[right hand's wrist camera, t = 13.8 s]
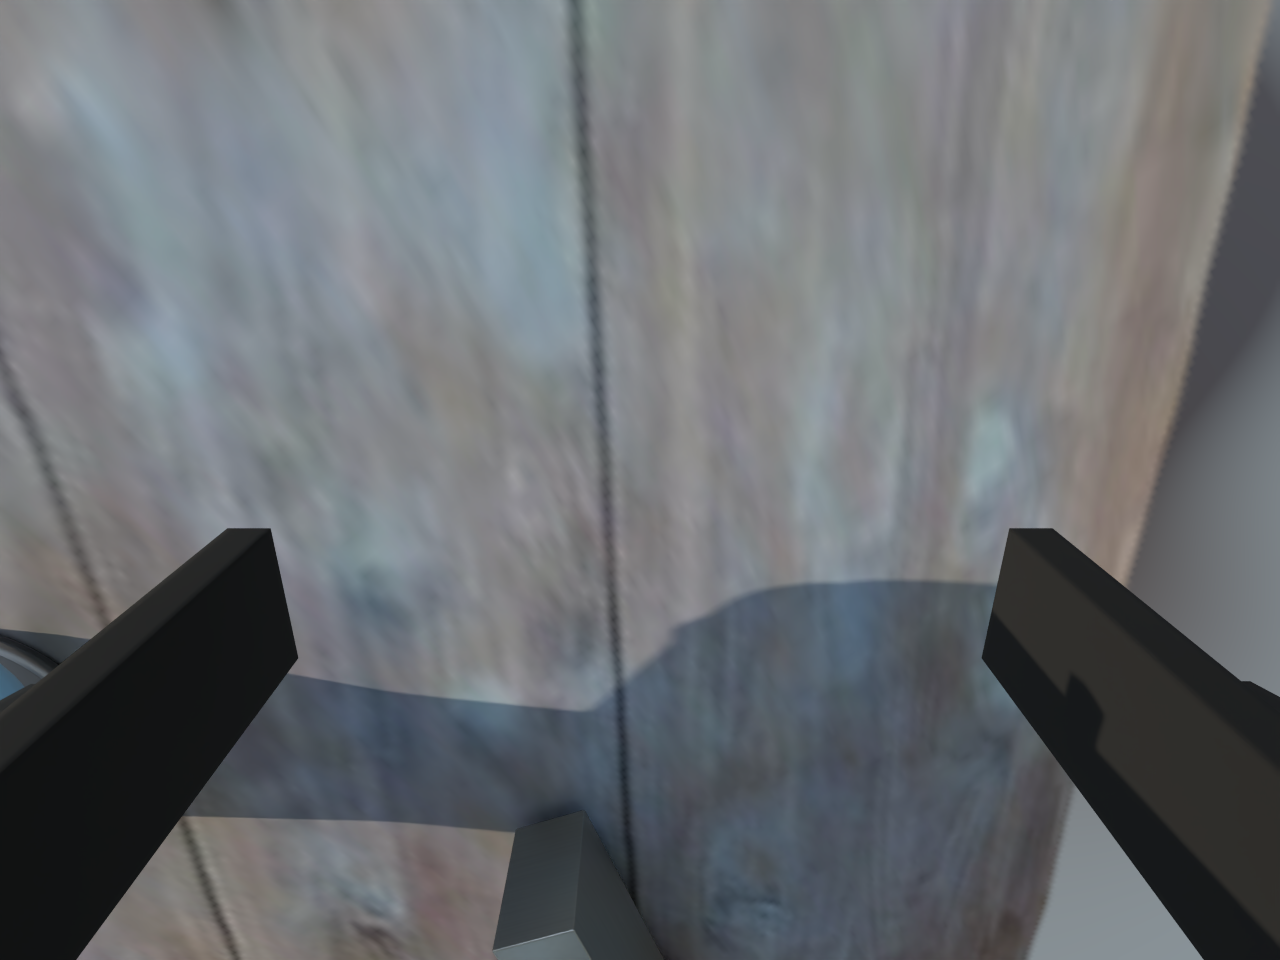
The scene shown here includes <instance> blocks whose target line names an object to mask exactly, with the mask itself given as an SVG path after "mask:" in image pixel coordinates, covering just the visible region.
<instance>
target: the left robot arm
mask: <svg viewBox="0 0 1280 960" xmlns="http://www.w3.org/2000/svg"><path fill="white" fill-rule="evenodd" d="M57 666H58V664H56V663H55V662H54V661H52V660H51V659H49V658H48V657H46V656H45V655H43V654H41V653H39V652H38V651H36V650H34V649H32V648H30V647H28V646H26V645H24V644H22V643H19V642H17V641H15V640H12V639H10V638H7V637H4V636H1V635H0V700H2V699H3V698H5V697H7V696H9V695H11V694H13V693H15V692H16V691H18V690H20V689H22V688H24V687H26V686H28V685H30V684H36V683H37V682H39V681H40V680H41V679H42V678H44V677H45V676H46V675H47V674H49V673H50V672H51V671H52V670H53V669H55V668H56V667H57Z"/></svg>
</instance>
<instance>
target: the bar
mask: <svg viewBox="0 0 1280 960" xmlns="http://www.w3.org/2000/svg"><path fill="white" fill-rule="evenodd" d="M493 953H494V955H495V956H496V958H497V959H498V960H664V959H663V957H662V955H661V953H660V951H659V949H658V947H657V946H656V944H655V942H654V940H653V938H652V936H651V934H650V932H649V930H648V929H647V927H646V925H645V923H644V921H643V919H642V917H641V915H640V913H639V912H638V910H637V908H636V906H635V904H634V902H633V900H632V898H631V897H630V895H629V893H628V891H627V889H626V887H625V885H624V883H623V881H622V880H621V878H620V876H619V874H618V872H617V870H616V868H615V866H614V864H613V863H612V861H611V859H610V857H609V855H608V853H607V851H606V849H605V847H604V846H603V844H602V842H601V840H600V838H599V836H598V834H597V832H596V830H595V829H594V827H593V825H592V823H591V821H590V819H589V817H588V815H587V813H586V812H585V810H582V811H579V812H575V813H572V814H568V815H564V816H561V817H557V818H554V819H550V820H547V821H543V822H540V823H536V824H533V825H529V826H526V827H522V828H518V829H516V832H515V837H514V842H513V848H512V853H511V858H510V863H509V868H508V873H507V879H506V884H505V889H504V894H503V899H502V904H501V910H500V915H499V920H498V925H497V930H496V935H495V941H494V946H493Z"/></svg>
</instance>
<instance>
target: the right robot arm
mask: <svg viewBox="0 0 1280 960" xmlns="http://www.w3.org/2000/svg"><path fill="white" fill-rule="evenodd" d="M297 659H298V654H297V650H296V645H295V640H294V636H293V631H292V626H291V622H290V617H289V612H288V608H287V603H286V598H285V594H284V589H283V584H282V580H281V575H280V570H279V566H278V561H277V556H276V552H275V547H274V542H273V538H272V533H271V528H227V529H226V530H225V531H224V532H222V533H221V534H220V535H219V536H218V537H216V538H215V539H214V540H213V541H211V542H210V543H209V544H208V545H206V546H205V547H204V548H203V549H201V550H200V551H199V552H198V553H197V554H195V555H194V556H193V557H192V558H190V559H189V560H188V561H187V562H185V563H184V564H183V565H182V566H181V567H179V568H178V569H177V570H176V571H174V572H173V573H172V574H171V575H169V576H168V577H167V578H166V579H164V580H163V581H162V582H161V583H160V584H158V585H157V586H156V587H155V588H153V589H152V590H151V591H150V592H148V593H147V594H146V595H145V596H144V597H142V598H141V599H140V600H139V601H137V602H136V603H135V604H134V605H132V606H131V607H130V608H129V609H127V610H126V611H125V612H124V613H123V614H121V615H120V616H119V617H118V618H116V619H115V620H114V621H113V622H111V623H110V624H109V625H108V626H107V627H105V628H104V629H103V630H102V631H100V632H99V633H98V634H97V635H95V636H94V637H93V638H92V639H90V640H89V641H88V642H87V643H86V644H84V645H83V646H82V647H81V648H79V649H78V650H77V651H76V652H74V653H73V654H72V655H71V656H70V657H68V658H67V659H66V660H65V661H63V662H62V663H61V664H60V665H58V666H57V667H56V668H55V669H53V670H52V671H51V672H50V673H49V674H47V675H46V676H45V677H44V678H42V679H41V680H40V681H39V682H37V683H36V684H30V685H28V686H26V687H24V688H22V689H20V690H18V691H16V692H15V693H13V694H11V695H9V696H7V697H5V698H3V699H2V700H0V960H76V959H77V958H78V957H79V955H80V954H81V952H82V951H83V950H84V948H85V947H86V946H87V944H88V943H89V942H90V940H91V939H92V938H93V936H94V935H95V933H96V932H97V931H98V929H99V928H100V927H101V925H102V924H103V923H104V921H105V920H106V919H107V917H108V916H109V914H110V913H111V912H112V910H113V909H114V908H115V906H116V905H117V904H118V902H119V901H120V900H121V898H122V897H123V895H124V894H125V893H126V891H127V890H128V889H129V887H130V886H131V885H132V883H133V882H134V880H135V879H136V878H137V876H138V875H139V874H140V872H141V871H142V870H143V868H144V867H145V866H146V864H147V863H148V861H149V860H150V859H151V857H152V856H153V855H154V853H155V852H156V851H157V849H158V848H159V847H160V845H161V844H162V842H163V841H164V840H165V838H166V837H167V836H168V834H169V833H170V832H171V830H172V829H173V828H174V826H175V825H176V823H177V822H178V821H179V819H180V818H181V817H182V815H183V814H184V813H185V811H186V810H187V809H188V807H189V806H190V804H191V803H192V802H193V800H194V799H195V798H196V796H197V795H198V794H199V792H200V791H201V789H202V788H203V787H204V785H205V784H206V783H207V781H208V780H209V779H210V777H211V776H212V775H213V773H214V772H215V770H216V769H217V768H218V766H219V765H220V764H221V762H222V761H223V760H224V758H225V757H226V756H227V754H228V753H229V751H230V750H231V749H232V747H233V746H234V745H235V743H236V742H237V741H238V739H239V738H240V737H241V735H242V734H243V732H244V731H245V730H246V728H247V727H248V726H249V724H250V723H251V722H252V720H253V719H254V718H255V716H256V715H257V713H258V712H259V711H260V709H261V708H262V707H263V705H264V704H265V703H266V701H267V700H268V698H269V697H270V696H271V694H272V693H273V692H274V690H275V689H276V688H277V686H278V685H279V684H280V682H281V681H282V679H283V678H284V677H285V675H286V674H287V673H288V671H289V670H290V669H291V667H292V666H293V665H294V663H295V662H296V660H297ZM982 659H983V660H984V662H985V663H986V665H987V666H988V667H989V669H990V670H991V671H992V673H993V674H994V675H995V677H996V678H997V679H998V681H999V682H1000V684H1001V685H1002V686H1003V688H1004V689H1005V690H1006V692H1007V693H1008V694H1009V696H1010V697H1011V698H1012V700H1013V701H1014V703H1015V704H1016V705H1017V707H1018V708H1019V709H1020V711H1021V712H1022V713H1023V715H1024V716H1025V718H1026V719H1027V720H1028V722H1029V723H1030V724H1031V726H1032V727H1033V728H1034V730H1035V731H1036V732H1037V734H1038V735H1039V737H1040V738H1041V739H1042V741H1043V742H1044V743H1045V745H1046V746H1047V747H1048V749H1049V750H1050V751H1051V753H1052V754H1053V756H1054V757H1055V758H1056V760H1057V761H1058V762H1059V764H1060V765H1061V766H1062V768H1063V769H1064V770H1065V772H1066V773H1067V775H1068V776H1069V777H1070V779H1071V780H1072V781H1073V783H1074V784H1075V785H1076V787H1077V788H1078V789H1079V791H1080V792H1081V794H1082V795H1083V796H1084V798H1085V799H1086V800H1087V802H1088V803H1089V804H1090V806H1091V807H1092V808H1093V810H1094V811H1095V813H1096V814H1097V815H1098V817H1099V818H1100V819H1101V821H1102V822H1103V823H1104V825H1105V826H1106V828H1107V829H1108V830H1109V832H1110V833H1111V834H1112V836H1113V837H1114V838H1115V840H1116V841H1117V842H1118V844H1119V845H1120V847H1121V848H1122V849H1123V851H1124V852H1125V853H1126V855H1127V856H1128V857H1129V859H1130V860H1131V861H1132V863H1133V864H1134V866H1135V867H1136V868H1137V870H1138V871H1139V872H1140V874H1141V875H1142V876H1143V878H1144V879H1145V880H1146V882H1147V883H1148V885H1149V886H1150V887H1151V889H1152V890H1153V891H1154V893H1155V894H1156V895H1157V897H1158V898H1159V900H1160V901H1161V902H1162V904H1163V905H1164V906H1165V908H1166V909H1167V910H1168V912H1169V913H1170V914H1171V916H1172V917H1173V919H1174V920H1175V921H1176V923H1177V924H1178V925H1179V927H1180V928H1181V929H1182V931H1183V932H1184V933H1185V935H1186V936H1187V938H1188V939H1189V940H1190V942H1191V943H1192V944H1193V946H1194V947H1195V948H1196V950H1197V951H1198V952H1199V954H1200V955H1201V956H1202V958H1203V959H1204V960H1280V697H1279V696H1277V695H1275V694H1273V693H1271V692H1269V691H1267V690H1265V689H1263V688H1262V687H1260V686H1258V685H1256V684H1254V683H1252V682H1250V681H1240V680H1239V679H1238V678H1236V677H1235V676H1234V675H1233V674H1231V673H1230V672H1229V671H1228V670H1227V669H1225V668H1224V667H1223V666H1221V665H1220V664H1219V663H1218V662H1217V661H1215V660H1214V659H1213V658H1212V657H1210V656H1209V655H1208V654H1207V653H1206V652H1204V651H1203V650H1202V649H1201V648H1199V647H1198V646H1197V645H1196V644H1194V643H1193V642H1192V641H1191V640H1189V639H1188V638H1187V637H1186V636H1185V635H1183V634H1182V633H1181V632H1180V631H1178V630H1177V629H1176V628H1175V627H1173V626H1172V625H1171V624H1170V623H1168V622H1167V621H1166V620H1165V619H1164V618H1162V617H1161V616H1160V615H1159V614H1157V613H1156V612H1155V611H1154V610H1153V609H1151V608H1150V607H1149V606H1148V605H1146V604H1145V603H1144V602H1143V601H1141V600H1140V599H1139V598H1138V597H1136V596H1135V595H1134V594H1133V593H1132V592H1130V591H1129V590H1128V589H1127V588H1125V587H1124V586H1123V585H1122V584H1120V583H1119V582H1118V581H1117V580H1116V579H1114V578H1113V577H1112V576H1111V575H1109V574H1108V573H1107V572H1106V571H1104V570H1103V569H1102V568H1101V567H1099V566H1098V565H1097V564H1096V563H1095V562H1093V561H1092V560H1091V559H1090V558H1088V557H1087V556H1086V555H1085V554H1083V553H1082V552H1081V551H1080V550H1079V549H1077V548H1076V547H1075V546H1074V545H1072V544H1071V543H1070V542H1069V541H1067V540H1066V539H1065V538H1064V537H1062V536H1061V535H1060V534H1059V533H1058V532H1056V531H1055V530H1054V529H1053V528H1009V533H1008V538H1007V542H1006V547H1005V552H1004V556H1003V561H1002V566H1001V570H1000V575H999V580H998V584H997V589H996V594H995V598H994V603H993V608H992V612H991V617H990V622H989V626H988V631H987V636H986V640H985V645H984V650H983V654H982Z"/></svg>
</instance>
